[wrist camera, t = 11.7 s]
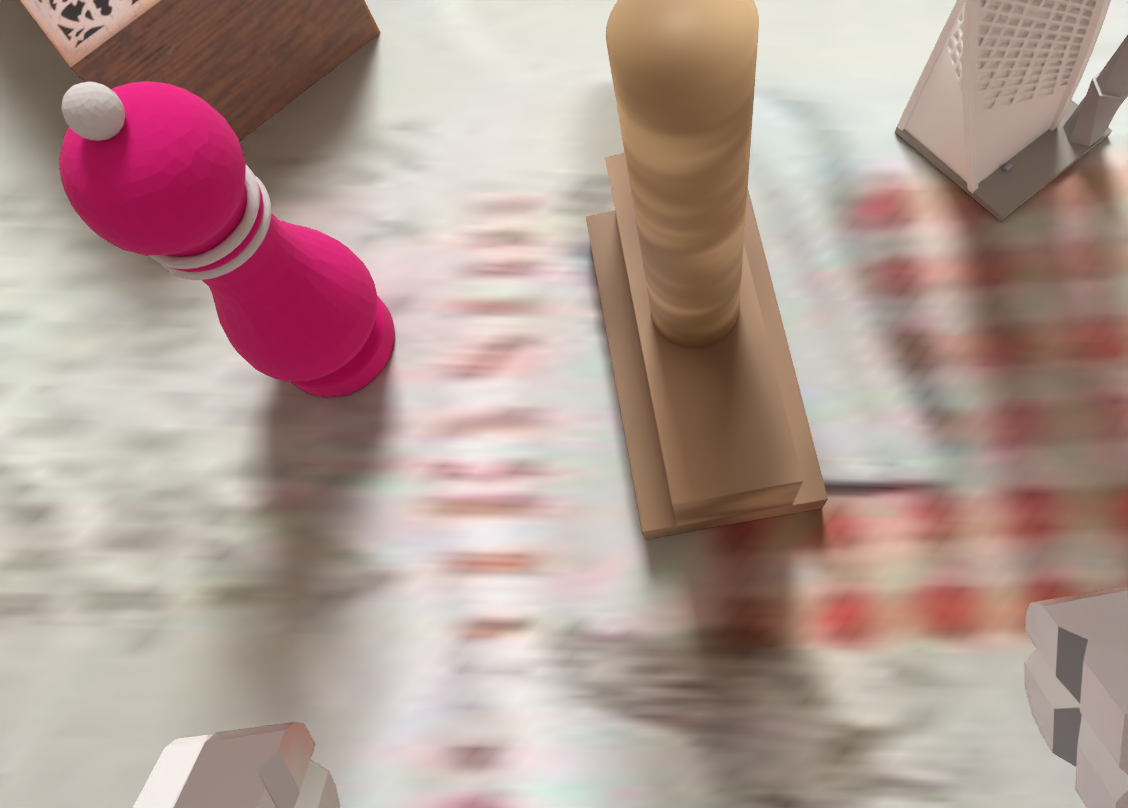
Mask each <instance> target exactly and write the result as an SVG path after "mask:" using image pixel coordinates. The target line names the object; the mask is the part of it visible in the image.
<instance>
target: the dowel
mask: <svg viewBox="0 0 1128 808" xmlns="http://www.w3.org/2000/svg"><path fill="white" fill-rule="evenodd" d="M758 28H759V18H758V12H757V8H756V5H755V2H754V0H618V1H617V3H616V4H615V6H614V8H613V10H612V11H611V13H610V16H609V19H608V23H607V28H606V42H607V48H608V55H609V61H610V67H611V73H612V79H613V85H614V91H615V97H616V103H617V109H618V115H619V122H620V128H621V134H622V140H623V146H624V152H625V158H626V164H627V170H628V176H629V182H630V188H631V195H632V201H633V207H634V213H635V219H636V225H637V231H638V237H639V243H640V249H641V255H642V261H643V268H644V274H645V280H646V286H647V292H648V298H649V304H650V310H651V316H652V320H653V323H654V325H655V327H656V329H657V330H658V332H659V333H660V334H661V335H662V336H663V337H664V338H665V339H666V340H668V341H669V342H671V343H673V344H675V345H677V346H680V347H684V348H704V347H707V346H710V345H713V344H715V343H717V342H719V341H720V340H722V339H723V338H725V337H726V336H727V335H728V334H729V333H730V331H731V330H732V329H733V327H734V325H735V323H736V321H737V318H738V314H739V304H740V289H741V275H742V260H743V246H744V231H745V217H746V202H747V188H748V173H749V159H750V144H751V129H752V115H753V100H754V86H755V71H756V57H757V42H758Z"/></svg>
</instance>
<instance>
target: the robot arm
mask: <svg viewBox="0 0 1128 808" xmlns="http://www.w3.org/2000/svg"><path fill="white" fill-rule="evenodd" d="M1025 632H1026V633H1027V635H1028V636H1029V638H1030V639H1031V641H1032V642H1033V644H1034V645H1035V647H1036V648H1037V649H1036V650H1035V651H1034V652H1033V654H1032V655H1031V656H1030V657H1029V658H1028V660H1027V661H1026V662H1025V689H1026V693H1027V697H1028V701H1029V704H1030V708H1031V712H1032V715H1033V717H1034V719H1035V721H1036V724H1037V726H1038V728H1039V730H1040V733H1041V734H1042V736H1043V738H1044V739H1045V741H1046V743H1047V744H1048V746H1049V748H1050V749H1051V751H1052V753H1054V754H1055V755H1057V756H1059V757H1060V758H1062V759H1064V760H1066V761H1067V762H1069V763H1071V764H1072V765H1074V766H1076V786H1075V790H1076V791H1077V793H1078V795H1079V796H1080V798H1081V799H1082V801H1083V803H1084V804H1085V806H1086V807H1087V808H1128V587H1119V588H1114V589H1108V590H1102V591H1096V592H1090V593H1084V594H1078V595H1073V596H1067V597H1061V598H1055V599H1049V600H1043V601H1037V602H1031V603H1030V605H1029V608H1028V610H1027V612H1026V626H1025ZM314 747H315V742H314V740H313V738H312V737H311V735H310V733H309V731H308V729H307V728H306V726H305V724H302V723H296V722H291V723H284V724H276V725H269V726H261V727H254V728H247V729H239V730H232V731H224V732H217V733H215V734H210V735H202V736H194V737H186V738H179V739H176V740H174V741H173V742H172V743H170V744H169V745H168V746H167V747H165V748H164V750H163V752H162V753H161V755H160V757H159V759H158V761H157V763H156V765H155V767H154V768H153V770H152V772H151V774H150V776H149V778H148V780H147V782H146V784H145V785H144V787H143V789H142V791H141V793H140V795H139V797H138V799H137V800H136V802H135V804H134V806H133V808H340V803H339V798H338V794H337V789H336V785H335V783H334V781H333V779H332V777H331V775H330V772H329V771H328V770H327V769H325V768H323V767H322V766H320V765H319V764H317V763H315V762H314V761H312V760H310V759H311V756H312V753H313V750H314Z"/></svg>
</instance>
